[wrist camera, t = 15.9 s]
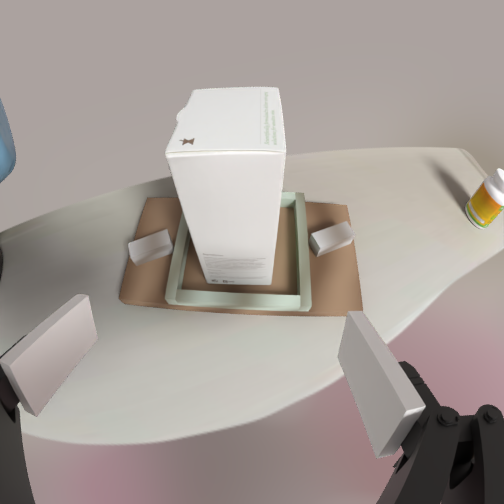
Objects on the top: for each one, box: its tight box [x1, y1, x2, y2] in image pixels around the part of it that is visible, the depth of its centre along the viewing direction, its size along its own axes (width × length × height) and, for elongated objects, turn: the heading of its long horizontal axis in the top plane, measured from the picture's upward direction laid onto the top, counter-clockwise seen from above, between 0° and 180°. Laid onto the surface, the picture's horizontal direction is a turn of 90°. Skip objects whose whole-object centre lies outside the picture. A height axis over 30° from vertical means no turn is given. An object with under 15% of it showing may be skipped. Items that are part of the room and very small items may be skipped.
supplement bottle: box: [465, 168, 504, 229], centre depth 29 cm, size 5×5×10 cm
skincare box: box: [165, 87, 286, 285], centre depth 21 cm, size 8×7×16 cm
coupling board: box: [119, 192, 363, 316], centre depth 28 cm, size 24×13×3 cm, turn 87°
